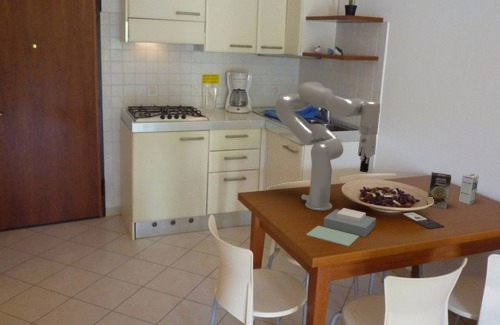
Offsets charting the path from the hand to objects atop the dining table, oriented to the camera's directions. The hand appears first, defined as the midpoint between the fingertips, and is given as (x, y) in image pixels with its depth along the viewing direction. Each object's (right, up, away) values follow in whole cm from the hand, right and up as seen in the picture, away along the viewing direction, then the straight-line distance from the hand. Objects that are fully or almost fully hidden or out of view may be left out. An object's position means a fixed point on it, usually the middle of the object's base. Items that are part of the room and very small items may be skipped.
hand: (363, 171), depth 210 cm
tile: (-7, -19, -5) cm, 21 cm away
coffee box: (+43, -18, +29) cm, 55 cm away
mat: (-16, -26, -15) cm, 34 cm away
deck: (-7, -23, -5) cm, 25 cm away
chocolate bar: (+28, -23, +7) cm, 37 cm away
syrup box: (+61, -16, +38) cm, 74 cm away
